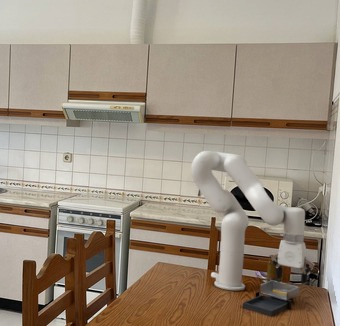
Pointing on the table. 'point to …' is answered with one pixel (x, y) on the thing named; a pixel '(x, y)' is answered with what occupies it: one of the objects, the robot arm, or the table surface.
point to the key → (279, 292)
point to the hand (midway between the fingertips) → (291, 280)
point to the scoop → (282, 287)
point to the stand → (280, 299)
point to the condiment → (272, 271)
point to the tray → (265, 305)
